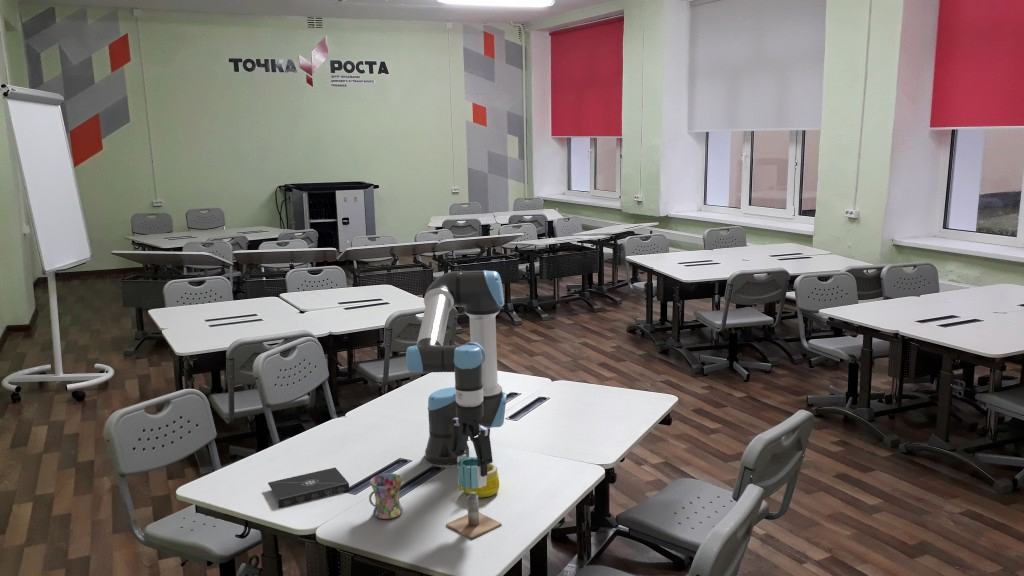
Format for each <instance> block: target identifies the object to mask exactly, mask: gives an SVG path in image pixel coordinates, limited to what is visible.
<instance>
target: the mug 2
mask: <svg viewBox="0 0 1024 576" xmlns="http://www.w3.org/2000/svg"><path fill="white" fill-rule="evenodd" d="M486 480H487V485H486V486H484V487H481V488H475V489H467V488H463V487H460V486H459V484H458V483H457V487H458V489H459V490H460V491H463V492H465V493H466V494H467V495H469V493H470V492H476V495H477V496H478V499H479V498H488V497H492V496H493V495H495V494H497V493H498V492H499V489H500V478H499V474H498V467H497V466H496V464H494V463H490V464H487V475H486Z"/></svg>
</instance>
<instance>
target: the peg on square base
mask: <svg viewBox="0 0 1024 576" xmlns="http://www.w3.org/2000/svg"><path fill="white" fill-rule="evenodd" d="M445 526H446V527H447V528H449V529H451V530H453V531H455V532H457V533H459V534H460V535H462V536H464V537H466V538H468V539H470V540H471V541H472V540H474V539H476V538H478V537H480V536H482V535H484V534H486V533H489V532H491V531H493V530H494V529H497V528H499V527H501V526H503V525H502V523H501V522H499V521H498V520H496V519H494V518H491V517H490V516H488V515H485V514H483V513H481V512H480V511H479V497H478V496H477V495H476V492H470V493H469V494H468V495H467V514H466V515H463V516H461V517H459V518H456V519H453V520H452V521H450V522H448V523H447V522H446V524H445Z"/></svg>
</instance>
